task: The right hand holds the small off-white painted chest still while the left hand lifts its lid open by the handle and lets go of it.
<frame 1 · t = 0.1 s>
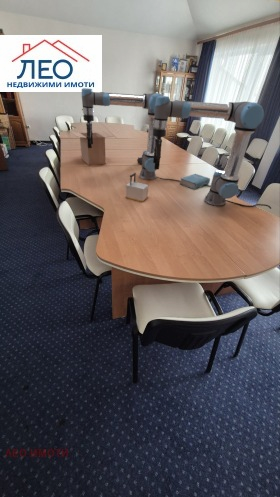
left hand: (90, 146, 173), 28 cm above the table, tool pointing down, fingers open, 13 cm apart
right hand: (155, 165, 140), 28 cm above the table, tool pointing down, fingers open, 13 cm apart
chest: (136, 197, 167), on the table
laser sight: (147, 164, 239), on the table
box: (93, 161, 237), on the table
book: (194, 184, 199), on the table
lid: (137, 180, 160), point 13 cm above the table, hinge at 0.0°
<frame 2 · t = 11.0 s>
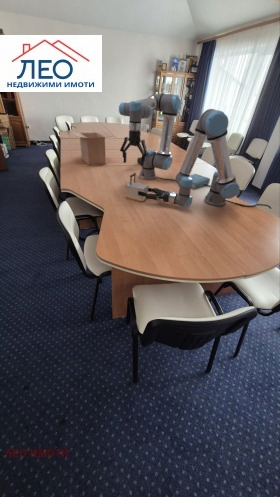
left hand: (133, 164, 154), 24 cm above the table, tool pointing down, fingers open, 13 cm apart
right hand: (141, 190, 163), 6 cm above the table, tool horizontal, fingers closed on chest, 9 cm apart
chest: (136, 197, 167), on the table, touching right hand
everything else where it was.
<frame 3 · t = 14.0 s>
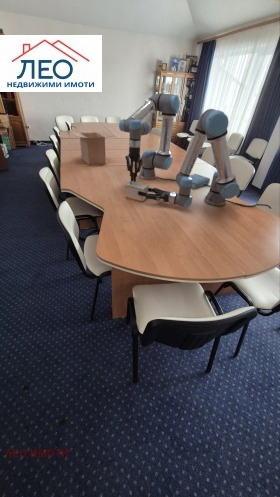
left hand: (133, 181, 161), 12 cm above the table, tool pointing down, fingers closed on lid
right hand: (141, 190, 163), 6 cm above the table, tool horizontal, fingers closed on chest, 9 cm apart
chest: (136, 197, 167), on the table, touching right hand
lid: (137, 180, 159), point 13 cm above the table, hinge at 2.4°, touching left hand
everything else where it was.
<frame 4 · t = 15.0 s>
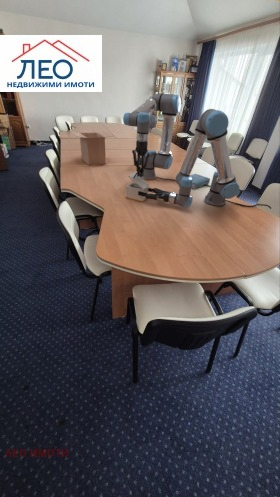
left hand: (139, 176, 157), 16 cm above the table, tool pointing down, fingers closed on lid
right hand: (141, 190, 163), 6 cm above the table, tool horizontal, fingers closed on chest, 9 cm apart
chest: (136, 197, 167), on the table, touching right hand
lid: (141, 177, 157), point 16 cm above the table, hinge at 31.3°, touching left hand
everything else where it was.
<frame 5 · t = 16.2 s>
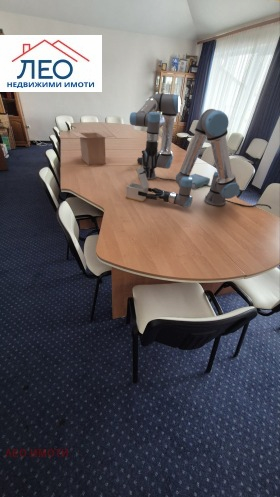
left hand: (149, 177, 154), 17 cm above the table, tool pointing down, fingers closed
right hand: (141, 190, 163), 6 cm above the table, tool horizontal, fingers closed on chest, 9 cm apart
chest: (136, 197, 167), on the table, touching right hand
lid: (147, 176, 155), point 17 cm above the table, hinge at 64.2°
everything else where it was.
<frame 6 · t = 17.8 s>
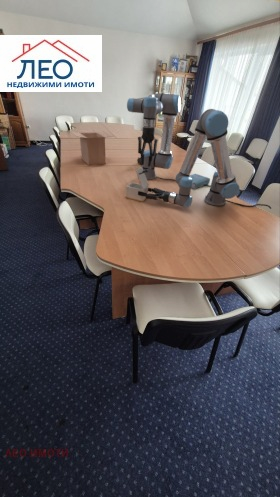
left hand: (146, 165, 151), 25 cm above the table, tool pointing down, fingers open, 4 cm apart
right hand: (141, 190, 163), 6 cm above the table, tool horizontal, fingers closed on chest, 9 cm apart
chest: (136, 197, 167), on the table, touching right hand
lid: (146, 176, 155), point 17 cm above the table, hinge at 61.8°
everything else where it was.
when the right hand's fingers open (6 cm above the table, at t = 20.3 s): chest stays where it is, on the table.
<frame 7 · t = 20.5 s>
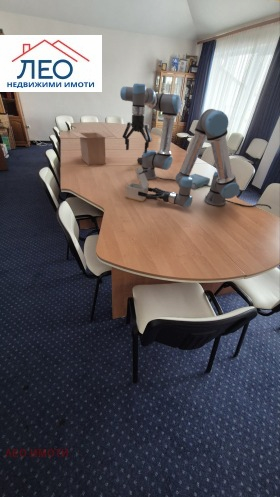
left hand: (136, 151, 148), 33 cm above the table, tool pointing down, fingers open, 13 cm apart
right hand: (141, 190, 163), 6 cm above the table, tool horizontal, fingers open, 11 cm apart
chest: (136, 197, 167), on the table
lid: (146, 176, 155), point 17 cm above the table, hinge at 61.1°
everything else where it was.
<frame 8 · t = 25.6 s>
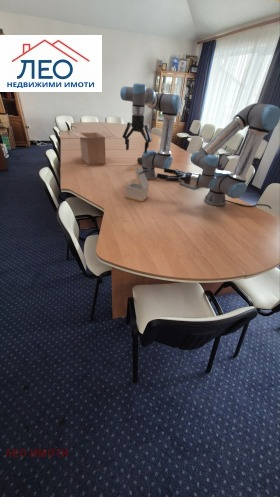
left hand: (136, 151, 148), 33 cm above the table, tool pointing down, fingers open, 13 cm apart
right hand: (160, 172, 149), 22 cm above the table, tool horizontal, fingers open, 13 cm apart
nothing on the table moved.
at the end: lid at +61° (first picture: +0°); the left hand is holding nothing; the right hand is holding nothing; chest tilted 0°; chest never tilted more than 1° during the clip; chest moved 0.1 cm from its start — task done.
